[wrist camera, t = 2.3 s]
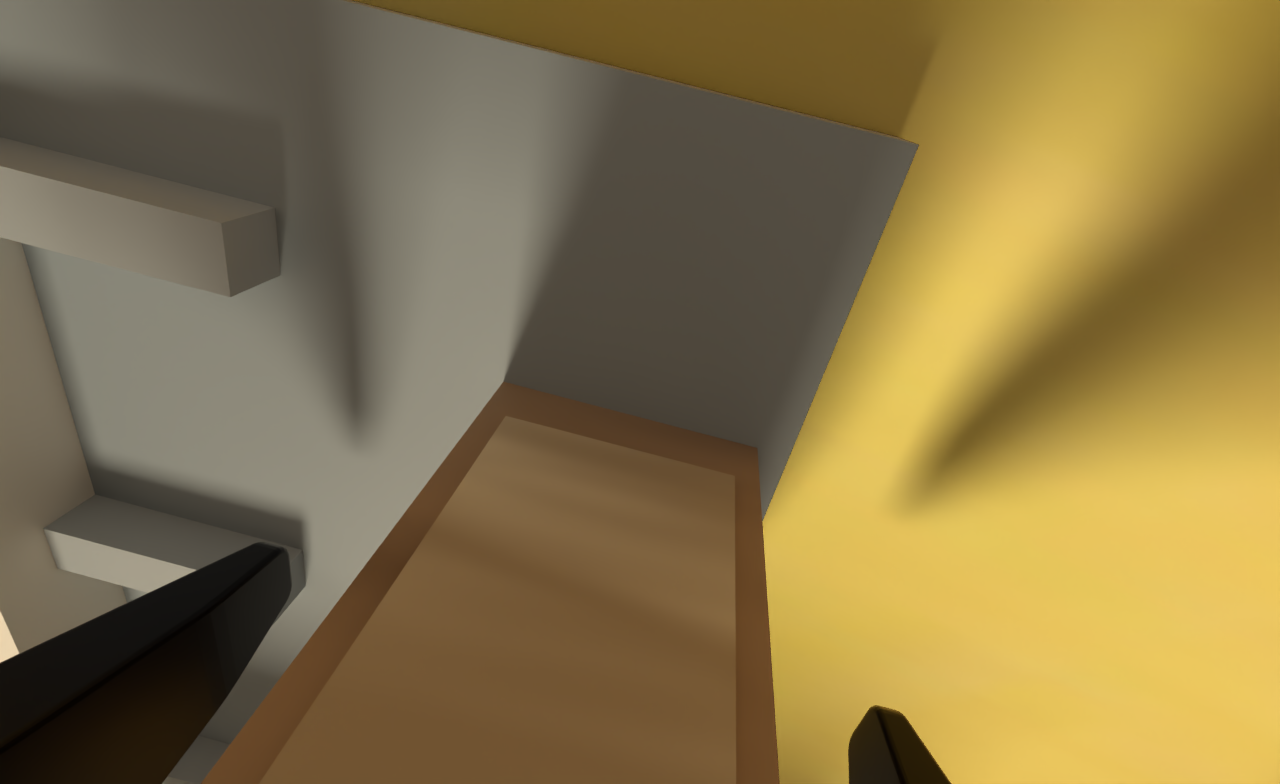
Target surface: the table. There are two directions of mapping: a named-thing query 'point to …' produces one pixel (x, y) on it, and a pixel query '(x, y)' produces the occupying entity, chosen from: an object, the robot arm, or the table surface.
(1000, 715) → the table surface
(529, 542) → the block
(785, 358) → the display board
